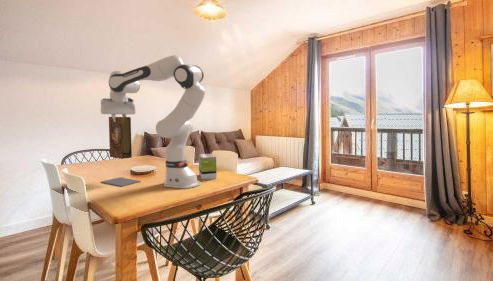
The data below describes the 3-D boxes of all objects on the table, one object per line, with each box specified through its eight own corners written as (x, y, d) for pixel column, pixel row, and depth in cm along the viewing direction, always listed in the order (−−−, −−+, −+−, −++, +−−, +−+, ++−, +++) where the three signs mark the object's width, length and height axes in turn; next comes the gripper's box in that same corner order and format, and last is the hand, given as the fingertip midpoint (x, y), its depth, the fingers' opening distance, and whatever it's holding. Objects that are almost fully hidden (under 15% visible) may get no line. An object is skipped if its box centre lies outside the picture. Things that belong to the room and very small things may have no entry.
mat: (140, 181, 160) (140, 180, 160) (121, 186, 149) (121, 185, 149) (119, 178, 170) (119, 177, 170) (100, 182, 158) (100, 181, 158)
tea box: (198, 174, 180) (198, 153, 178) (212, 174, 183) (212, 153, 181) (201, 179, 165) (201, 157, 164) (216, 178, 168) (216, 156, 167)
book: (108, 156, 162) (107, 116, 160) (117, 155, 166) (116, 117, 165) (123, 159, 153) (122, 116, 151) (131, 158, 157) (130, 117, 155)
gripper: (103, 97, 146) (104, 122, 148) (136, 99, 163) (137, 121, 164) (97, 98, 150) (99, 122, 151) (130, 100, 167) (131, 121, 168)
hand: (119, 121), depth 158 cm, fingers closed on book, 3 cm apart
